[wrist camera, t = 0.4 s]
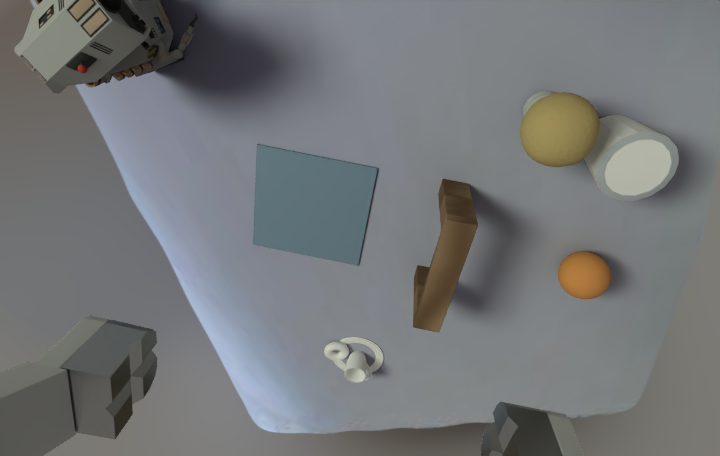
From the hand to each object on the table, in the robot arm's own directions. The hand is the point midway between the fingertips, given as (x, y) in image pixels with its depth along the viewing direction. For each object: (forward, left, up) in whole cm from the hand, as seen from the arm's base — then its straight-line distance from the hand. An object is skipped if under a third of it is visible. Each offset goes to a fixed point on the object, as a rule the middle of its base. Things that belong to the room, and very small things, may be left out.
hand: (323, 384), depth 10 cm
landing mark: (+19, -7, -40) cm, 44 cm away
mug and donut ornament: (+40, +2, -40) cm, 57 cm away
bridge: (+19, +9, -40) cm, 45 cm away
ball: (+19, +26, -37) cm, 49 cm away
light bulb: (+2, +15, -40) cm, 43 cm away
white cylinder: (+4, +23, -40) cm, 46 cm away
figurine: (0, -24, -40) cm, 46 cm away
